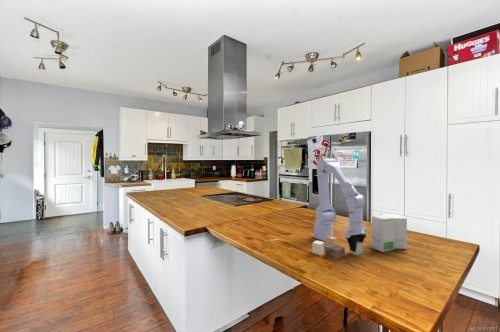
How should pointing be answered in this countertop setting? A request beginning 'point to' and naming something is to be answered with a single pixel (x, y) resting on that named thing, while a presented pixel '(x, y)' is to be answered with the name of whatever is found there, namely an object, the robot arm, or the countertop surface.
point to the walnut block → (335, 251)
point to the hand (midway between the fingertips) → (355, 249)
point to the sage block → (357, 249)
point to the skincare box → (382, 233)
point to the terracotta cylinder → (329, 240)
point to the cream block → (318, 247)
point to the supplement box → (399, 231)
